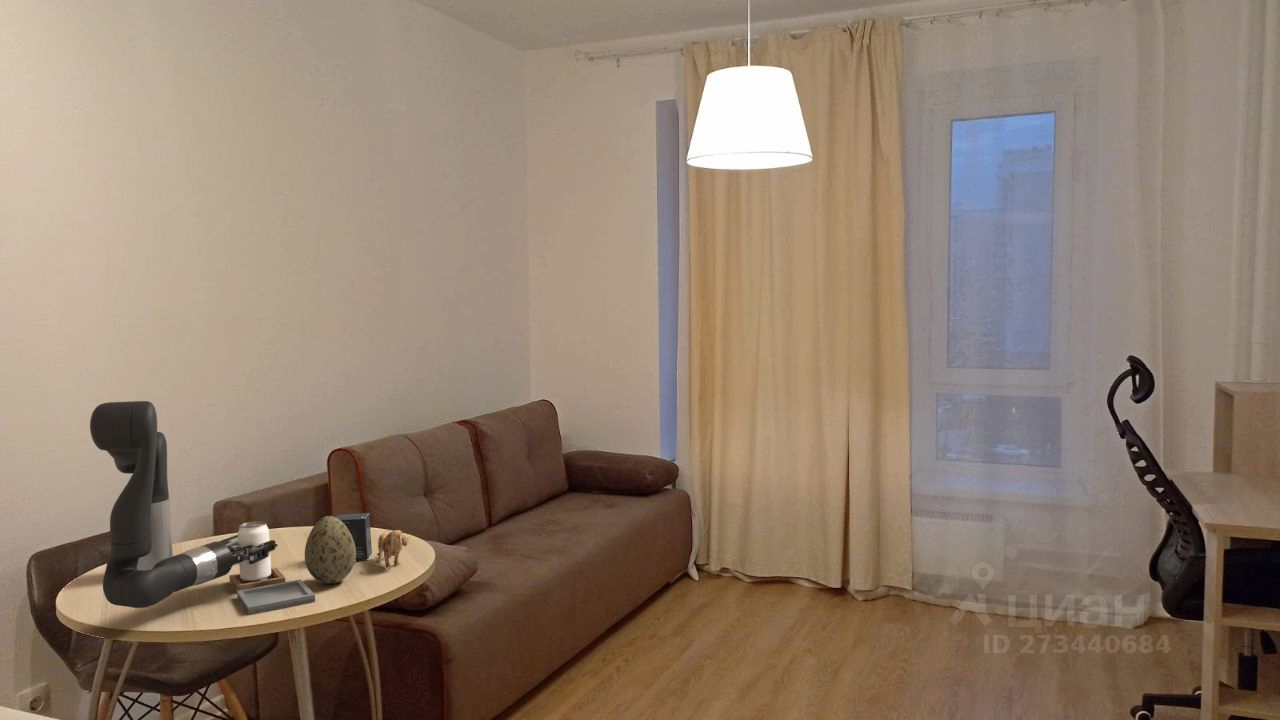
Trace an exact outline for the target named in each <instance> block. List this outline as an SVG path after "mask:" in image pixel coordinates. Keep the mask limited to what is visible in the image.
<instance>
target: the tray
mask: <svg viewBox="0 0 1280 720" xmlns="http://www.w3.org/2000/svg"><path fill="white" fill-rule="evenodd" d="M236 594H237V596H236V597H237V600H238V601H239V602H240V603H241V606H242V607H243V609H244V610H245V611H246V613H247V615H248V616H250V615H255V614H259V613H265V612H270V611H275V610H279V609H280V610H281V609H286V608H290V607H296V606H299V605H300V606H301V605H305V604H310V603H311V604H312V603H315V602H316V594H315V593H314V592H313V591H312V590H311V589H310V588H309V587H308V585H306V584H305V583H304V581H302V579H296V580H289V581H285V582H284V583H278V584H273V585H267V586H262V587H256V588H251V589H246V590H240V591H237V592H236Z"/></svg>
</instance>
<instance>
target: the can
mask: <svg viewBox="0 0 1280 720" xmlns="http://www.w3.org/2000/svg"><path fill="white" fill-rule="evenodd" d="M237 535H238V546H241V545H246V544H252V545H258V544H262V543H265V542H267V541H270V529H269V527H268V525H267V522H266V521H260V520H259V521H248V522H244V523H241V524H239V529H238V531H237ZM255 549H257V548H255ZM246 550H247V554H248V548H246ZM238 565H239V566H238V567H239V574H240V578H241V579H242V580H244V582H245V581H246V582H251V581H252V582H256V581H262V580H266V579H267V578H269V577H271V576H270V574H271V568H272V561H271V551H270V552H268V557H266V558H264V559H262V560H260V561H258V562H256V563H254V564H249V561H246V562H242V563H241V564H238Z"/></svg>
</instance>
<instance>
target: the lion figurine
mask: <svg viewBox="0 0 1280 720" xmlns="http://www.w3.org/2000/svg"><path fill="white" fill-rule="evenodd" d="M377 540H378V542H377V548H378V553H376V555H377V556H378V558H377V561H379V562H378V563H381V562H380V561H382V562H383V560H382V559H383V558H382V556H383V557H384V564H385V565H384V568H385V567H386V568H389V567H390V568H391V564H390V558H392V557H394V560H393V564H394V566H395V565H400V564H401V563H400V562H399V556H400V552H401V551H402V550H403V547H406V548H407V546H408V543H409V541H410V538H408V537H406V536H405V535H404V534H403V533H402V530H400V529H399V530H397V529H395V530H393V531H391V532H389V533H388V532H383V533H381V534H380V535H379V538H378V539H377ZM389 557H390V558H389ZM377 561H376V562H377ZM400 566H401V565H400ZM390 568H389V569H390Z"/></svg>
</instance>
